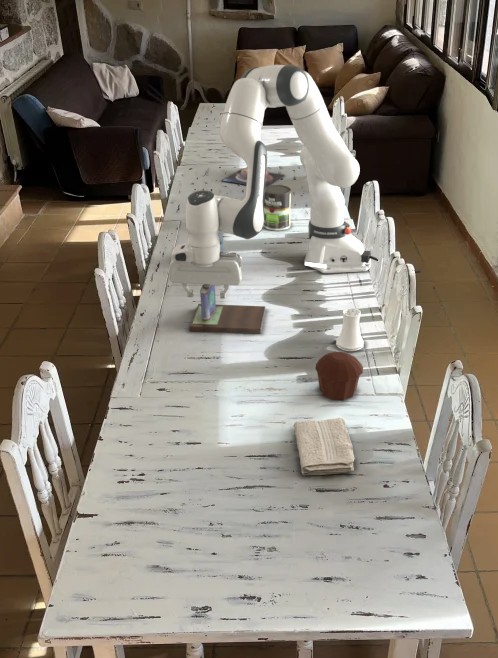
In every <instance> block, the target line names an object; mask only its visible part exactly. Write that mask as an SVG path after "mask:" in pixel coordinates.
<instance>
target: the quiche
mask: <svg viewBox="0 0 498 658" xmlns="http://www.w3.org/2000/svg"><path fill="white" fill-rule="evenodd" d="M247 174H248V168H247V166H246V167H244V168H242V169H240V170H239V171H237V172H236V173H234V174H232V175H230V176H229V177H227V178H224V179H222V181H223V182H229V183H235V184H240V185H243V186H247ZM283 176H284V174H280V173H274V172H269V171H268V170H266V182H265V187H267V186H270V185H271V184H272V183H274V182H276V181H277V180H279V179H280V178H283Z"/></svg>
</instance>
